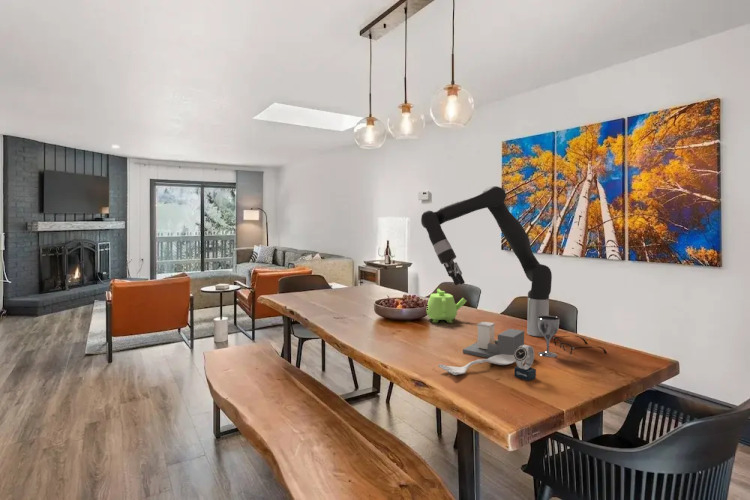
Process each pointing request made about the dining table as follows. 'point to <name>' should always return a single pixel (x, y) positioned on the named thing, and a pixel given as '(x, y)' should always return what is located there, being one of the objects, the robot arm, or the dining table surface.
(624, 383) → the dining table surface
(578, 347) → the eyeglasses
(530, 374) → the watch
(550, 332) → the wine glass
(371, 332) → the dining table surface
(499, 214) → the robot arm
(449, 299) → the teapot
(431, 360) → the dining table surface
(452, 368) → the spoon
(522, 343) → the grey block model
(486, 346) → the white rectangular block
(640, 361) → the dining table surface
